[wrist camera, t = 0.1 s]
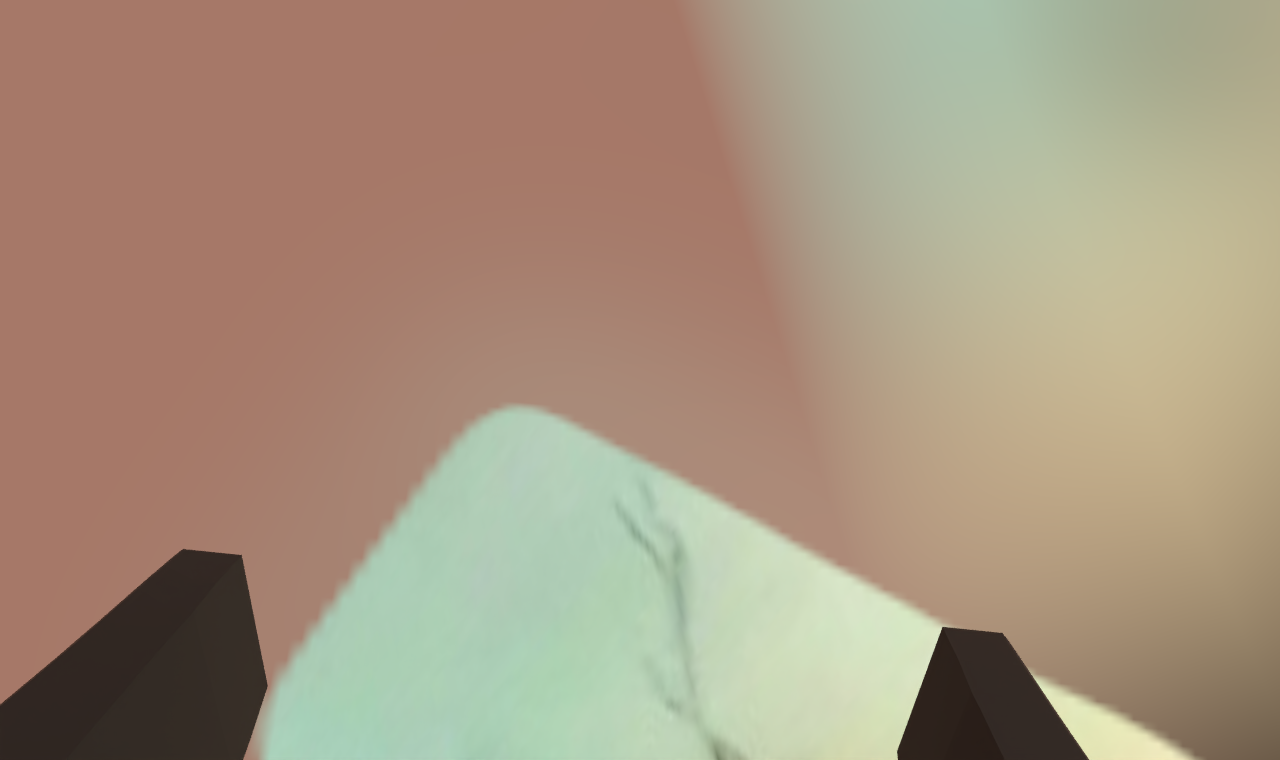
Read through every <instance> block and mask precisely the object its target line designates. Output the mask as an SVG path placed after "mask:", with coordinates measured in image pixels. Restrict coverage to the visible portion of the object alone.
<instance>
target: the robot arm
mask: <svg viewBox="0 0 1280 760" xmlns="http://www.w3.org/2000/svg"><path fill="white" fill-rule="evenodd" d="M266 690H267V680H266V675H265V670H264V665H263V660H262V656H261V651H260V645H259V640H258V635H257V630H256V626H255V620H254V615H253V610H252V605H251V600H250V596H249V590H248V585H247V580H246V575H245V570H244V565H243V560H242V555H235V554H225V553H215V552H206V551H195V550H186V549H183V550H181V551H180V552H179V553H177V554H176V555H175V556H174V557H173V558H171V559H170V560H169V561H168V562H167V563H165V564H164V565H163V566H162V567H161V568H159V569H158V570H157V571H156V572H155V573H154V574H152V575H151V576H150V577H149V578H148V579H147V580H146V581H144V582H143V583H142V584H141V585H140V586H139V587H137V588H136V589H135V590H134V591H133V592H132V593H131V594H129V595H128V596H127V597H126V598H125V599H124V600H123V601H121V602H120V603H119V604H118V605H117V606H116V607H115V608H113V609H112V610H111V611H110V612H109V613H108V614H107V615H105V616H104V617H103V618H102V619H101V620H100V621H99V622H97V623H96V624H95V625H94V626H93V627H92V628H90V629H89V630H88V631H87V632H86V633H85V634H84V635H82V636H81V637H80V638H79V639H78V640H76V641H75V642H74V643H73V644H72V645H71V646H70V647H68V648H67V649H66V650H65V651H64V652H63V653H61V654H60V655H59V656H58V657H57V658H56V659H55V660H53V661H52V662H51V663H50V664H48V665H47V666H46V667H45V668H44V669H42V670H41V671H40V672H39V673H38V674H36V675H35V676H34V677H33V678H32V679H30V680H29V681H28V682H27V683H26V684H24V685H23V686H22V687H21V688H20V689H18V690H17V691H16V692H15V693H14V694H12V696H10V697H9V698H8V699H6V700H5V701H4V702H3V703H2V704H0V760H243V758H244V755H245V753H246V750H247V747H248V744H249V741H250V738H251V735H252V732H253V729H254V726H255V723H256V720H257V717H258V714H259V711H260V708H261V705H262V702H263V699H264V696H265V693H266ZM897 754H898V760H1089V759H1088V757H1087V756H1086V754H1085V753H1084V752H1083V750H1082V749H1081V747H1080V746H1079V744H1078V743H1077V741H1076V740H1075V739H1074V737H1073V736H1072V734H1071V733H1070V731H1069V730H1068V728H1067V727H1066V725H1065V724H1064V723H1063V721H1062V720H1061V718H1060V717H1059V715H1058V714H1057V712H1056V711H1055V709H1054V708H1053V706H1052V705H1051V703H1050V702H1049V700H1048V699H1047V697H1046V696H1045V694H1044V693H1043V691H1042V690H1041V688H1040V687H1039V685H1038V684H1037V682H1036V681H1035V679H1034V678H1033V676H1032V675H1031V673H1030V672H1029V670H1028V669H1027V667H1026V666H1025V664H1024V663H1023V661H1022V660H1021V658H1020V657H1019V656H1018V654H1017V653H1016V651H1015V650H1014V648H1013V647H1012V645H1011V644H1010V642H1009V641H1008V640H1007V638H1006V637H1005V636H1004V635H1003V633H995V632H985V631H976V630H967V629H957V628H947V627H942V630H941V633H940V636H939V638H938V641H937V644H936V646H935V649H934V652H933V655H932V657H931V660H930V663H929V666H928V668H927V671H926V674H925V677H924V679H923V682H922V685H921V688H920V690H919V693H918V696H917V698H916V701H915V704H914V707H913V709H912V712H911V715H910V718H909V720H908V723H907V726H906V729H905V731H904V734H903V737H902V740H901V742H900V745H899V748H898V751H897Z"/></svg>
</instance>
